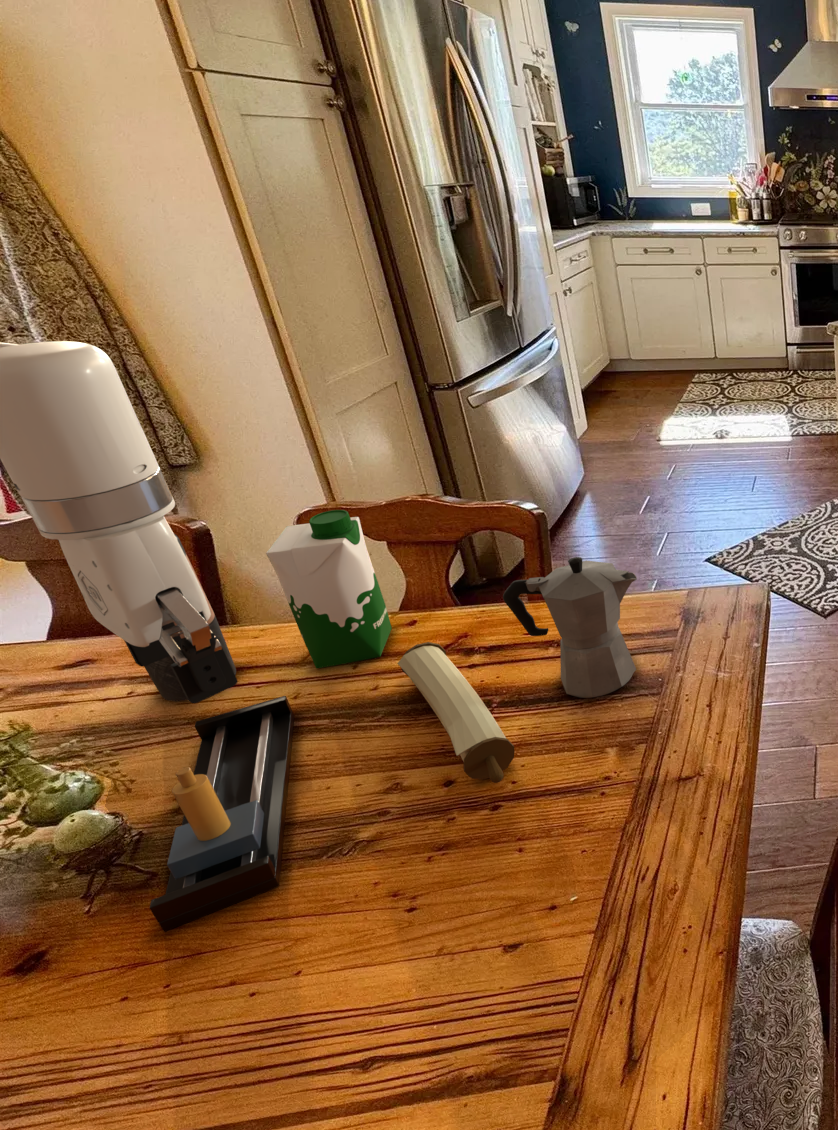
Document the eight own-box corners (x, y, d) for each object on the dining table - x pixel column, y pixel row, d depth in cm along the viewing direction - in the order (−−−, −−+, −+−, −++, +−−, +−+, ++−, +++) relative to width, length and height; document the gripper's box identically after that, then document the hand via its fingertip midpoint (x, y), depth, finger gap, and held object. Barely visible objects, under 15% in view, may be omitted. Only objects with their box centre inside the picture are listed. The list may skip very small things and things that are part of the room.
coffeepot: (656, 648, 107) (637, 535, 99) (648, 692, 98) (626, 573, 91) (535, 662, 103) (506, 546, 96) (516, 709, 95) (483, 586, 87)
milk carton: (387, 659, 103) (341, 529, 94) (304, 675, 99) (249, 541, 91) (401, 623, 110) (360, 499, 102) (324, 637, 107) (275, 510, 98)
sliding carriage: (175, 880, 70) (131, 803, 66) (183, 842, 74) (142, 767, 70) (260, 848, 73) (223, 774, 69) (264, 813, 77) (229, 741, 73)
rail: (163, 932, 68) (148, 908, 67) (206, 742, 88) (195, 721, 87) (279, 886, 72) (267, 863, 71) (294, 715, 93) (285, 695, 91)
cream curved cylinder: (531, 782, 85) (522, 748, 82) (475, 811, 81) (464, 776, 79) (444, 652, 105) (435, 622, 102) (396, 670, 101) (385, 639, 99)
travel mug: (249, 678, 99) (189, 543, 90) (170, 711, 93) (98, 570, 84) (226, 656, 102) (167, 525, 94) (149, 688, 96) (78, 550, 88)
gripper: (-8, 494, 61) (87, 667, 68) (81, 549, 54) (178, 736, 61) (119, 462, 67) (195, 624, 74) (215, 508, 60) (288, 682, 67)
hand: (187, 674), depth 67 cm, fingers open, 9 cm apart
